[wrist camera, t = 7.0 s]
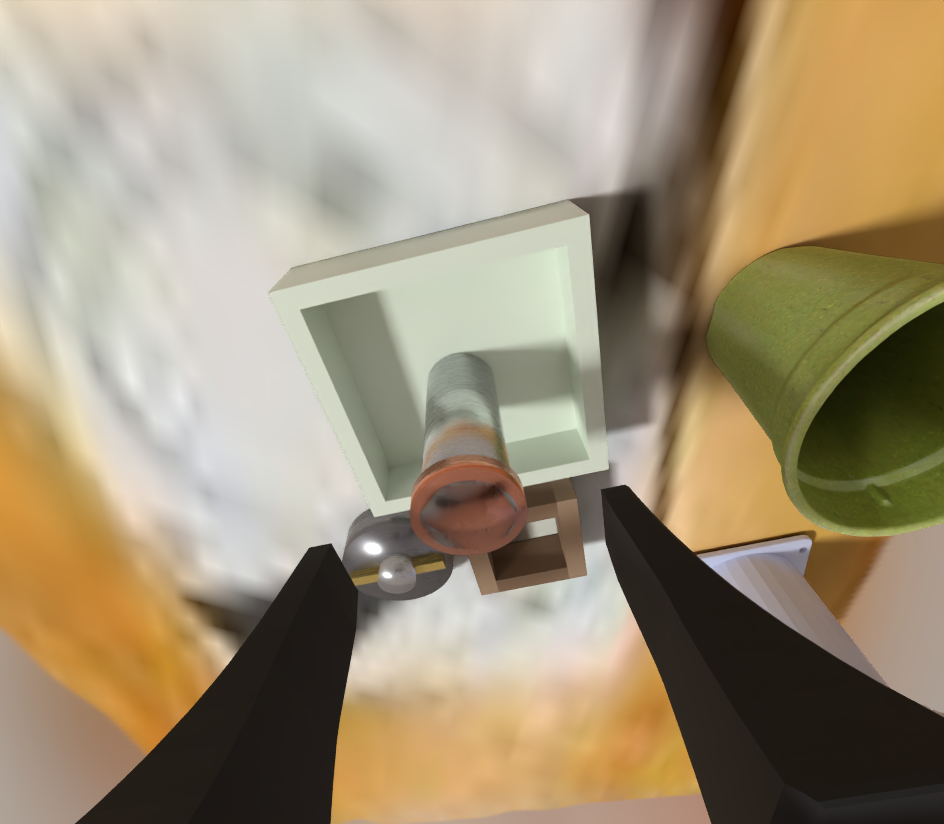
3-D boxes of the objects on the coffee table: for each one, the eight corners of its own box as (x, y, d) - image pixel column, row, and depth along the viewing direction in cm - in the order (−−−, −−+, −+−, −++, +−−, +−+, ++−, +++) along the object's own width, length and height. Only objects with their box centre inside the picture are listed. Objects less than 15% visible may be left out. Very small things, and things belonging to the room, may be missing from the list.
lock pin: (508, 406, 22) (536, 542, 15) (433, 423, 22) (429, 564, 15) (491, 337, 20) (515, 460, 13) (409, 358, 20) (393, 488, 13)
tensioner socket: (576, 541, 28) (587, 575, 26) (478, 560, 28) (481, 595, 26) (565, 466, 25) (576, 498, 23) (455, 489, 25) (456, 522, 23)
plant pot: (828, 140, 17) (1117, 163, 10) (920, 303, 21) (1179, 407, 14) (625, 324, 21) (727, 441, 13) (736, 435, 24) (863, 574, 17)
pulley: (462, 564, 28) (464, 604, 26) (368, 582, 29) (361, 624, 26) (437, 493, 25) (437, 532, 23) (331, 515, 26) (320, 555, 23)
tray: (590, 430, 24) (609, 469, 21) (381, 475, 24) (374, 517, 22) (567, 199, 18) (589, 214, 15) (291, 268, 18) (267, 292, 16)
